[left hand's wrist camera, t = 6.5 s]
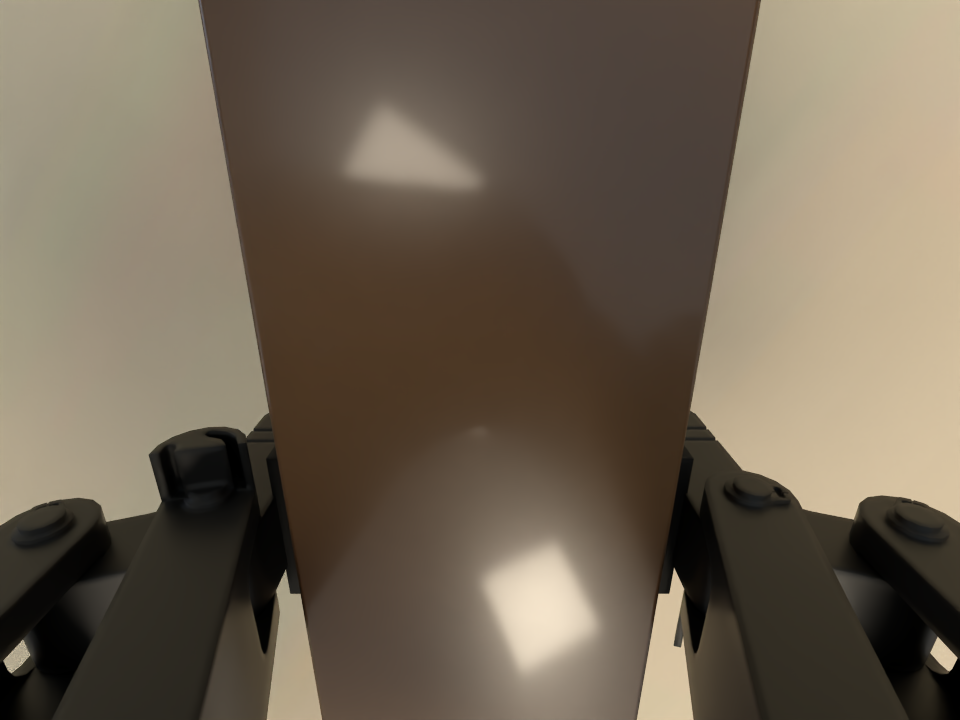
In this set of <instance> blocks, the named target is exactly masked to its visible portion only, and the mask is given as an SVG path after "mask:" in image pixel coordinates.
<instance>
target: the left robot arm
mask: <svg viewBox="0 0 960 720" xmlns="http://www.w3.org/2000/svg"><path fill="white" fill-rule="evenodd" d="M149 458H150V461H151V465H152V468H153V472H154V475H155V479H156V482H157V486H158V489H159V493H160V497H161V500H162V502H161V504H160V506H159V508H158V510H157V512H154V513H150V514H145V515H140V516H135V517H130V518H125V519H120V520H114V521H109V522H106V520H105V517H104V514H103V511H102V508H101V505H99V504H98V503H97V502H95V501H94V500H90V499H83V498H74V499H65V500H56V501H52V502H49V503H48V504H47V503H44V504H41V505H38V506H35V507H33V508H32V509H31V510H28V511H26V512H24V513H21V514H19V515H17V516H15V517H14V518H12V519H10V520H9V521H7V522H6V523H4V524H3V525H1V526H0V720H267V712H268V704H269V696H270V687H271V679H272V671H273V663H274V655H275V647H276V639H277V631H278V623H279V615H280V611H279V604H278V598H277V593H276V589H277V587H278V585H279V583H280V581H281V578H282V576H283V574H284V572H285V570H286V572H287V577H288V583H289V588H290V594H301V593H300V587H299V581H298V576H297V570H296V564H295V558H294V552H293V547H292V541H291V535H290V529H289V523H288V518H287V512H286V506H285V500H284V494H283V489H282V483H281V477H280V471H279V465H278V460H277V454H276V448H275V442H274V436H273V431H272V425H271V419H270V413H268V414H267V415H265V416H264V417H263V418H262V419H261V421H260V422H259V423H258V424H257V425H256V427H255V428H254V431H251V433H250V434H249V435H248V436H247V437H246V435H245V434H243V433H242V432H241V431H239V430H238V429H233V428H228V427H208V428H202V429H197V430H192V431H189V432H186V433H183V434H180V435H177V436H174V437H172V438H170V439H168V440H167V441H165V442H163V443H161V444H160V445H158V446H157V447H156V448H155V449H154V450H153V451H152V452H151V453H150V454H149ZM674 568H675V570H676V572H677V574H678V577H679V579H680V581H681V583H682V585H683V587H684V593H683V598H682V603H681V608H680V613H679V618H678V624H677V629H676V634H675V640H674V646H677V647H681V643H682V638H684V646H685V654H686V662H687V670H688V678H689V686H690V694H691V702H692V710H693V718H694V720H960V523H959V522H957V521H956V520H954V519H953V518H951V517H949V516H948V515H946V514H945V513H943V512H940V511H938V510H936V509H933V508H931V507H929V506H928V505H926V504H924V503H921V502H918V501H915V500H914V501H911V499H907V498H902V497H890V496H874V497H867V498H866V499H865V500H863V501H862V502H861V503H859V506H858V509H857V512H856V515H855V518H854V520H852V519H847V518H842V517H837V516H832V515H827V514H822V513H816V512H812V511H808V510H804V509H802V507H801V505H800V503H799V501H798V500H797V499H796V498H795V496H794V495H793V494H792V493H791V492H790V490H788V489H787V488H785V487H784V486H782V485H781V484H779V483H778V482H776V481H774V480H772V479H769V478H767V477H764V476H762V475H759V474H755V473H751V472H747V471H743V470H742V469H741V468H740V467H739V466H738V464H737V463H736V462H735V461H734V460H733V458H732V457H731V456H730V455H729V454H728V452H727V451H726V450H725V449H724V448H723V446H722V445H721V444H720V443H719V442H718V441H715V437H714V436H713V434H712V433H711V432H710V431H709V430H706V426H705V425H704V424H703V422H702V421H701V420H700V419H699V418H698V416H697V415H696V414H695V413H693V412H691V411H690V413H689V419H688V425H687V431H686V437H685V442H684V448H683V454H682V460H681V465H680V471H679V477H678V483H677V489H676V494H675V500H674V506H673V512H672V518H671V523H670V529H669V535H668V541H667V547H666V552H665V558H664V564H663V570H662V575H661V581H660V587H659V593H658V594H669V592H670V586H671V581H672V575H673V570H674ZM937 637H939V638H940V639H941V640H942V641H943V643H944V644H945V645H946V646H947V647H948V648H949V649H950V650H951V651H952V652H953V653H954V654H955V655H956V656H957V658H958V659H957V661H956V663H955V665H954V667H953V669H952V670H951V671H950V672H949V671H947V670H946V669H945V668H944V667H943V666H942V665H940V664H939V663H938V661H937V660H936V659H935V658H934V657H933V656H932V655H931V654H930V652H931V650H932V648H933V645H934V643H935V641H936V639H937ZM22 640H24V642H25V644H26V647H27V649H28V651H29V653H30V656H29V657H28V659H27V660H26V661H25V662H24V663H23V664H22V665H21V666H20V667H19V668H18V669H17V670H15V671H14V672H13V673H12V674H11V673H10V672H9V671H8V670H7V668H6V666H5V664H4V662H3V660H4V659H5V658H6V657H7V656H8V655H9V654H10V653H11V652H12V650H13V649H14V648H15V647H16V646H17V645H18V644H19V643H20V642H21V641H22Z"/></svg>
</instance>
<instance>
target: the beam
mask: <svg viewBox="0 0 960 720" xmlns="http://www.w3.org/2000/svg"><path fill="white" fill-rule="evenodd" d="M198 1H199V7H200V13H201V19H202V24H203V30H204V36H205V42H206V48H207V54H208V59H209V65H210V71H211V77H212V83H213V88H214V94H215V100H216V106H217V112H218V117H219V123H220V129H221V135H222V141H223V146H224V152H225V158H226V164H227V170H228V175H229V181H230V187H231V193H232V199H233V204H234V210H235V216H236V222H237V228H238V233H239V239H240V245H241V251H242V257H243V262H244V268H245V274H246V280H247V286H248V291H249V297H250V303H251V309H252V315H253V320H254V326H255V332H256V338H257V344H258V349H259V355H260V361H261V367H262V373H263V378H264V384H265V390H266V396H267V402H268V407H269V413H270V419H271V425H272V431H273V436H274V442H275V448H276V454H277V460H278V465H279V471H280V477H281V483H282V489H283V494H284V500H285V506H286V512H287V518H288V523H289V529H290V535H291V541H292V547H293V552H294V558H295V564H296V570H297V576H298V581H299V587H300V593H301V599H302V605H303V610H304V616H305V622H306V628H307V634H308V639H309V645H310V651H311V657H312V663H313V668H314V674H315V680H316V686H317V692H318V697H319V703H320V709H321V715H322V720H637V714H638V709H639V703H640V697H641V691H642V685H643V680H644V674H645V668H646V662H647V656H648V651H649V645H650V639H651V633H652V628H653V622H654V616H655V610H656V604H657V599H658V593H659V587H660V581H661V575H662V570H663V564H664V558H665V552H666V547H667V541H668V535H669V529H670V523H671V518H672V512H673V506H674V500H675V494H676V489H677V483H678V477H679V471H680V465H681V460H682V454H683V448H684V442H685V437H686V431H687V425H688V419H689V413H690V408H691V402H692V396H693V390H694V384H695V379H696V373H697V367H698V361H699V356H700V350H701V344H702V338H703V332H704V327H705V321H706V315H707V309H708V303H709V298H710V292H711V286H712V280H713V275H714V269H715V263H716V257H717V251H718V246H719V240H720V234H721V228H722V222H723V217H724V211H725V205H726V199H727V194H728V188H729V182H730V176H731V170H732V165H733V159H734V153H735V147H736V141H737V136H738V130H739V124H740V118H741V113H742V107H743V101H744V95H745V89H746V84H747V78H748V72H749V66H750V60H751V55H752V49H753V43H754V37H755V32H756V26H757V20H758V14H759V8H760V3H761V0H198Z"/></svg>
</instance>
